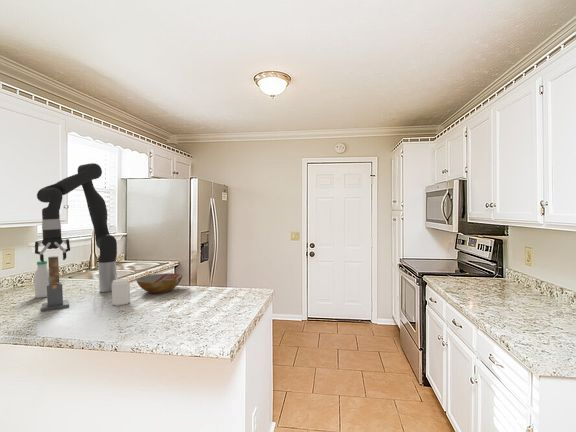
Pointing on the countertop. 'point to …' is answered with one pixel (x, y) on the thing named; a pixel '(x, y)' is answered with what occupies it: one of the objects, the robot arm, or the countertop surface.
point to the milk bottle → (41, 279)
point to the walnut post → (53, 270)
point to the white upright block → (120, 292)
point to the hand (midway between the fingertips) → (53, 261)
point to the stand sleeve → (54, 298)
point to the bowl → (159, 282)
